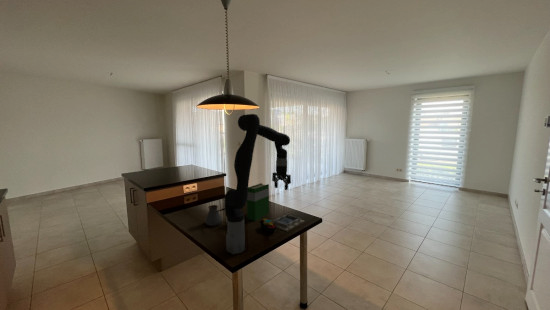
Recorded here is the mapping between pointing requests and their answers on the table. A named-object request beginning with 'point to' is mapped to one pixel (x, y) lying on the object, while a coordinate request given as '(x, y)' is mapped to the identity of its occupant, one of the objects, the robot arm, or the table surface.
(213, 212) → the coffee pot
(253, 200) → the hardback book
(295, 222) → the window
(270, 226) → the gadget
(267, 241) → the table surface
